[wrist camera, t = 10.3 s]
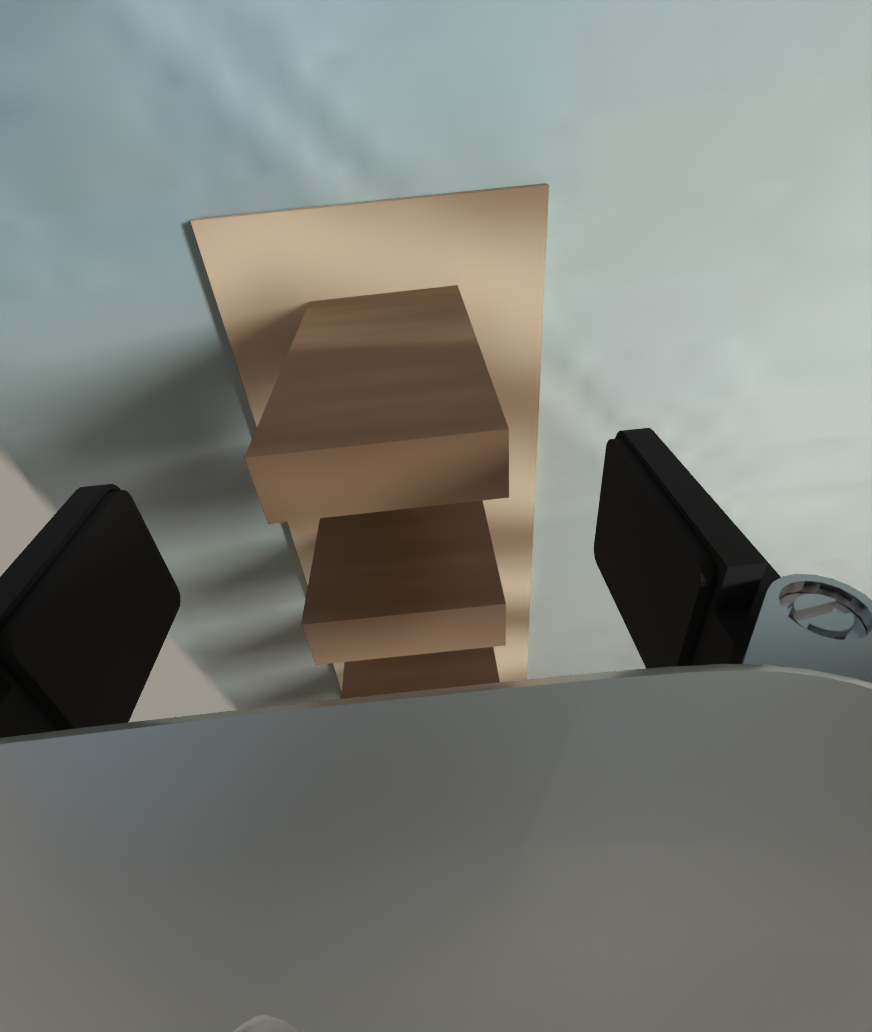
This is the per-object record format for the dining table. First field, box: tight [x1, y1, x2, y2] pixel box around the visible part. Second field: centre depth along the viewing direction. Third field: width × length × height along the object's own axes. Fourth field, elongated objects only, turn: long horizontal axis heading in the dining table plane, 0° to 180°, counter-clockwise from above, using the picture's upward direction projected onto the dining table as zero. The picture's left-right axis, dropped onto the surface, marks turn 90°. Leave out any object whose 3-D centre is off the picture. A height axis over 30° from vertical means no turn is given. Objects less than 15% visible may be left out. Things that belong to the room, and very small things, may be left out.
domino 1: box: [244, 285, 509, 524], centre depth 14 cm, size 2×5×10 cm, turn 95°
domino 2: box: [301, 500, 506, 665], centre depth 17 cm, size 2×5×10 cm, turn 95°
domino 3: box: [341, 647, 500, 699], centre depth 20 cm, size 2×5×10 cm, turn 95°
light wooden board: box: [191, 184, 549, 690], centre depth 24 cm, size 26×11×1 cm, turn 5°
